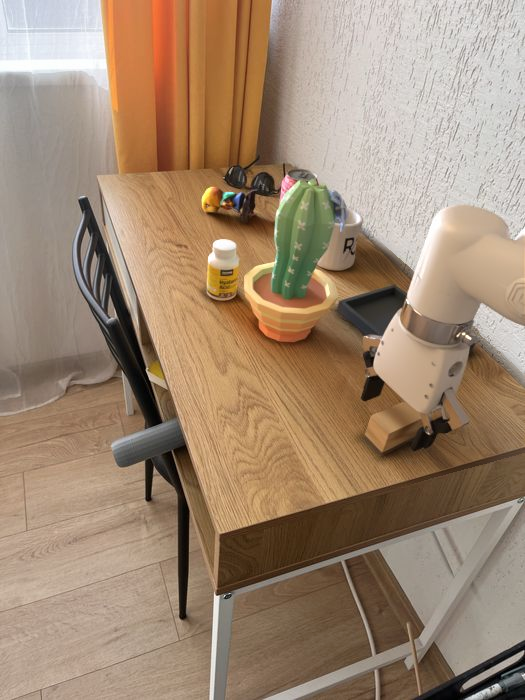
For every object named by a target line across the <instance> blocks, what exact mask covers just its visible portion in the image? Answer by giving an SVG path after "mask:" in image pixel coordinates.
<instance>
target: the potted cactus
mask: <svg viewBox="0 0 525 700" xmlns="http://www.w3.org/2000/svg"><path fill="white" fill-rule="evenodd" d="M279 204H280V206H279V205H278V208H277V210H276V211H275V218H274V219H275V220H274V233H273V239H274V245H275V251H276V254H275V258H274V261H271V262H268V263H264V264H258V265H255V266H254V267H253V268H252V269H250V270H249V271H248V272H247V273H246V274H245V275H244V276H243V288H244V290H243V292H244V296H245V299H246V300H247V301H248V302H249V303H250V306H251V310H252V313H253V314H254V316H255V317H256V318H257V320H258V328H259V330H260V331H261V332H262V333H263V334H264V335H265V336H266V337H267V338H269V339H273V340H275V341H277V342H285V343H296V342H298V341H301V340H305V339H306V338H307V337H308V335H310V333H311V332H312V331H311V329H312V328H313V327H315V326H316V325H317V323H318V322H319V321H320V320H321V319H322V317H323V316H325V315H326V314H327V313H328V312H329V311H330V310H331V308H332V307H333V306H334V305H335V304H336V302H337V299H338V298H339V293H338V289H337V285H336V282H335V281H334V280H333V279H332V278H330V277H329V276H327V274H325V273H324V272H323V271H322V270H321V269H320V270H319V269H317V268H316V267H317V266H318V265H317V263H318V261H319V260H320V258H321V257H322V256H323V254H324V253H325V252H326V250H327V249H328V247H329V243H330V239H331V236H332V232H333V228H334V224H335V220H336V219H339V221H341V229H340V232H343V230H344V227H345V224H346V222H347V218H348V210H347V208H348V207H347V206H348V205H347V204H346V202H345V199H343V197H342V195H341V194H340V193H339V192H338V191H337V190H331V189H329V188H328V187H327V184H326V183H320V184H319V186H317V182H316V180H315V179H311V180H310V181H309V182H308V183H307V182H306V181H304V180H303V179H300V180H299V181H298V182H297V183H296V184H295V185H294V186H292V187H291V188H290V189H289V190H288V191H287V192H286V194H285V195H284V197H283V199H282V200H281V202H280V201H279Z"/></svg>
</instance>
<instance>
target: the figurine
mask: <svg viewBox="0 0 525 700" xmlns="http://www.w3.org/2000/svg"><path fill="white" fill-rule="evenodd" d="M257 191H258V189H252V190H250V191H249V192H248V193H247V194H245V193H244V192H240V193H237V192H232V191H226V192H224V191H223V190H222V189H221V188H219V187H216V186H210V187H209V188H206V190H205V191H204V194H203V195H202V198H201V206H202V210H203V211H204V212H205V213H216V212H218V211H219V210H220V209H223V210H225V211H229V210H233V211H235V212H236V213H238V214H239V213H240V215H239V216H240V217H241V221H242V222H243V223H244V224H246V225H248V224H249V223H248V220H249V219H250V218H252V217H253V216H255V212H254V210H255V209H256V193H257Z"/></svg>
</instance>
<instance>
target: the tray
mask: <svg viewBox="0 0 525 700" xmlns="http://www.w3.org/2000/svg"><path fill="white" fill-rule="evenodd" d="M407 293H408V292H406V291H405V290H404V289H403V288H401V287H399V286H398V285H397V284H395V283H394V284H391V285H387V286H384V287H381V288H378V289H374V290H371V291H367V292H363V293H361V294H357V295H354V296H350V297H347V298H343V299H340V300H338V303H337V308H336V311H337V312H338V313H339V315H341V316H343V318H344V319H346V320H347V321H348V322H350V323H351V324H352V325H353V326H354V327H355V328H356V329H358V330H359V331H360V332H361V333H362V334H364V336H367V335H369V334H373V335H378V336H383V335H384V333H385V331H386V329H387V327H388V325H389V323H390V322H391V320H392V319H393V317H394V316H395V314H396V313H397V311H398V310H399V309H401V308H402V307H403V304H404V302H405V299H406V296H407ZM475 347H476V341H475V342H474V343H473V344H472V345H471V346H470V349H469V354H472V353H473V350H474V348H475Z"/></svg>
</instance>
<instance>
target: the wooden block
mask: <svg viewBox="0 0 525 700" xmlns="http://www.w3.org/2000/svg"><path fill="white" fill-rule="evenodd" d="M422 426H423V423H422V419H421V414H420V413H419V412H418V411H416V410H415V409H414V408H412V407H411V406H410V405H409V404H408V403H407V402H406V401H405V400H403V401H401V402H399V403H397V404H394V405H392V406H390V407H388V408H385V409H383V410H381V411H379V412H376V413H374V414H372V415H370V417H369V420H368V424H367V427H366V429H365V432H364V436H363V440H364V441H365V442H366V443H367V444H368V445H369V446H370V448H372V449H373V450H374V451H375V452H376V453H377V455H378V456H380V457H383V456H385V455H388V454H389V453H391V452H393V451H395V450H397V449H399V448H401V447H403V446H405V445H407V444H409V443H410V442H411V443H412V442H413V440H414V438H415V435H416V433H417V431H418V429H419V428H420V427H422Z"/></svg>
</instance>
